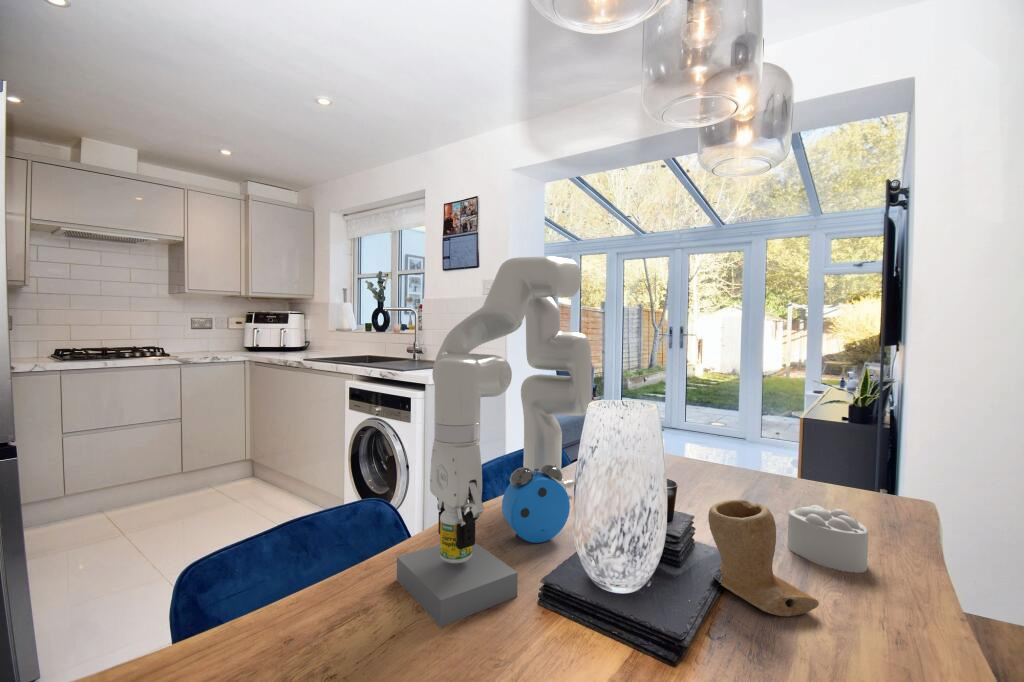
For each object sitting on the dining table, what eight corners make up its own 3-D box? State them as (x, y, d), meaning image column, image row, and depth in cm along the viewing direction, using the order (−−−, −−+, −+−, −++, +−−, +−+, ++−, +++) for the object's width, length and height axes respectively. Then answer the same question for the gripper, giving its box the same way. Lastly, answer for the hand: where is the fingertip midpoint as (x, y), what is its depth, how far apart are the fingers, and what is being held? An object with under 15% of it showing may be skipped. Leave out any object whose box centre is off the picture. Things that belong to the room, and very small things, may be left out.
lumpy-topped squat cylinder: (814, 538, 103) (816, 498, 102) (881, 567, 91) (883, 521, 90) (779, 546, 98) (781, 504, 98) (845, 577, 86) (847, 530, 86)
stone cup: (691, 578, 85) (693, 494, 85) (745, 568, 89) (748, 488, 89) (760, 630, 71) (763, 529, 70) (820, 616, 75) (824, 520, 74)
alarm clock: (557, 527, 106) (558, 459, 105) (570, 539, 100) (572, 467, 99) (500, 536, 101) (501, 465, 100) (511, 549, 95) (512, 474, 95)
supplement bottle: (474, 549, 84) (475, 494, 83) (469, 565, 78) (469, 506, 78) (444, 548, 84) (444, 493, 84) (436, 563, 79) (436, 505, 78)
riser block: (466, 557, 92) (466, 536, 92) (517, 596, 79) (517, 572, 79) (396, 579, 83) (396, 556, 83) (440, 627, 71) (440, 600, 70)
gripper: (414, 425, 85) (413, 527, 86) (464, 446, 71) (463, 567, 72) (451, 420, 89) (451, 517, 90) (505, 439, 76) (504, 553, 76)
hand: (456, 538), depth 81 cm, fingers closed on supplement bottle, 5 cm apart
